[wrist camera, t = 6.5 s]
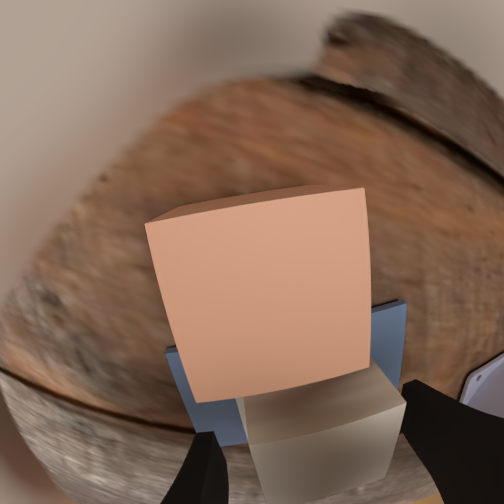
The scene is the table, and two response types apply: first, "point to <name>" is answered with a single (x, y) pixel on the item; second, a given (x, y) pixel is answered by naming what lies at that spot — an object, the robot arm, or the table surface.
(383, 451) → the cream block
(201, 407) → the blue flat board
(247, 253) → the terracotta block
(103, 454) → the table surface
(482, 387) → the robot arm
